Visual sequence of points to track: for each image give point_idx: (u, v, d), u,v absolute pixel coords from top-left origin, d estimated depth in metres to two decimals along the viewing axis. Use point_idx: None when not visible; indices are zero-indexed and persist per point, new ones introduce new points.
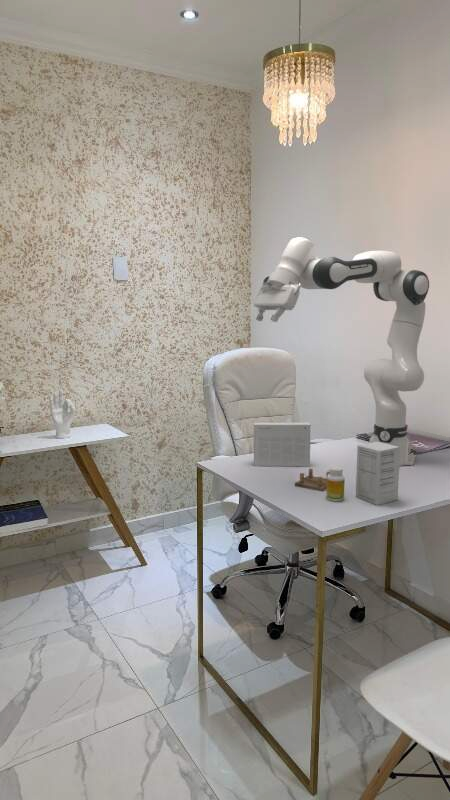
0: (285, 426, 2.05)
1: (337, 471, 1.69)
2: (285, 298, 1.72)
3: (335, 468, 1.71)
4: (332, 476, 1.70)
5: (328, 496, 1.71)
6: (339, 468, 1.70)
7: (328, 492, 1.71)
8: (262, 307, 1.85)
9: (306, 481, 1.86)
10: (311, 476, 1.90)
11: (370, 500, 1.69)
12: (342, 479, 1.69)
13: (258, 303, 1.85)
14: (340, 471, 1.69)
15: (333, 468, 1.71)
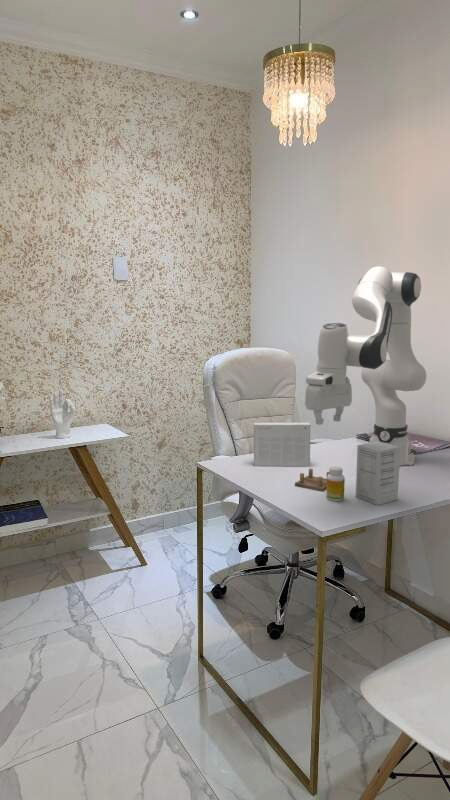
0: (285, 426, 2.05)
1: (337, 471, 1.69)
2: (350, 398, 1.73)
3: (335, 468, 1.71)
4: (332, 476, 1.70)
5: (328, 496, 1.71)
6: (339, 468, 1.70)
7: (328, 492, 1.71)
8: None
9: (306, 481, 1.86)
10: (311, 476, 1.90)
11: (370, 500, 1.69)
12: (342, 479, 1.69)
13: (322, 407, 1.62)
14: (340, 471, 1.69)
15: (333, 468, 1.71)
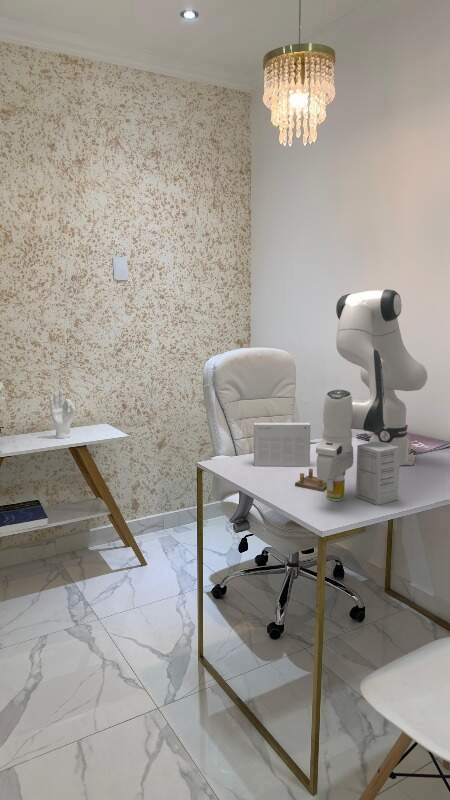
0: (285, 426, 2.05)
1: None
2: (352, 459, 1.77)
3: None
4: None
5: (328, 496, 1.71)
6: None
7: (328, 492, 1.71)
8: None
9: (306, 481, 1.86)
10: (311, 476, 1.90)
11: (370, 500, 1.69)
12: (342, 479, 1.69)
13: (333, 476, 1.65)
14: None
15: None
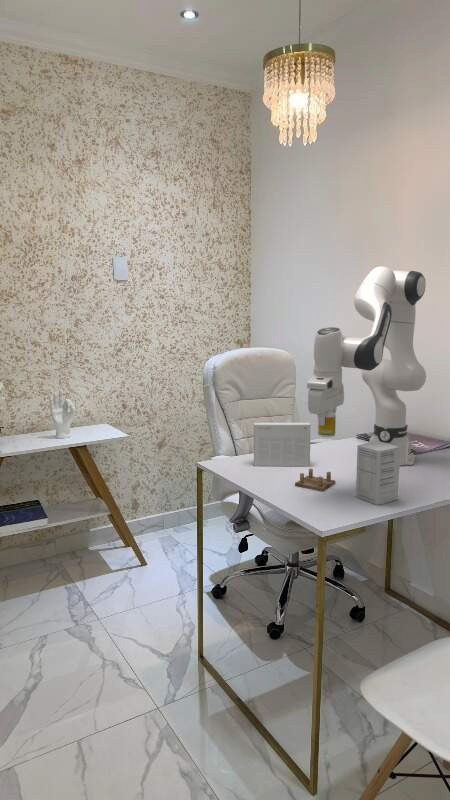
0: (285, 426, 2.05)
1: None
2: (343, 397, 1.82)
3: None
4: None
5: (320, 433, 1.76)
6: None
7: (320, 429, 1.76)
8: None
9: (306, 481, 1.86)
10: (311, 476, 1.90)
11: (370, 500, 1.69)
12: (333, 415, 1.74)
13: (324, 410, 1.69)
14: (331, 408, 1.74)
15: None
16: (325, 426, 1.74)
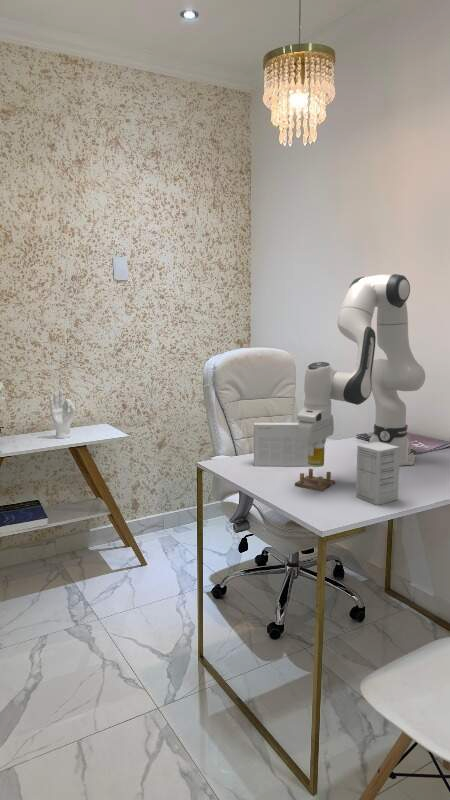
0: (285, 426, 2.05)
1: None
2: (332, 428, 1.89)
3: None
4: None
5: (309, 462, 1.83)
6: None
7: (309, 459, 1.83)
8: None
9: (306, 481, 1.86)
10: (311, 476, 1.90)
11: (370, 500, 1.69)
12: (322, 446, 1.82)
13: (313, 442, 1.77)
14: (320, 439, 1.82)
15: None
16: (314, 456, 1.82)
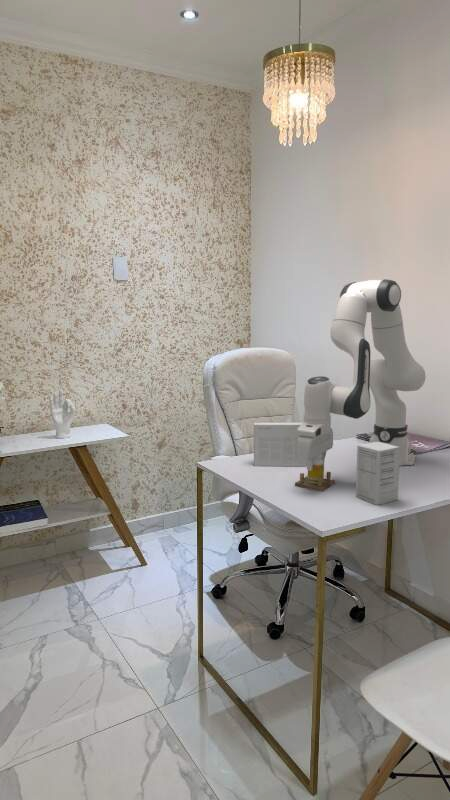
0: (285, 426, 2.05)
1: (317, 456, 1.82)
2: (332, 441, 1.90)
3: None
4: None
5: (309, 479, 1.84)
6: None
7: (309, 475, 1.84)
8: None
9: (306, 481, 1.86)
10: None
11: (370, 500, 1.69)
12: (321, 463, 1.83)
13: (312, 456, 1.78)
14: (320, 456, 1.83)
15: None
16: (314, 473, 1.83)
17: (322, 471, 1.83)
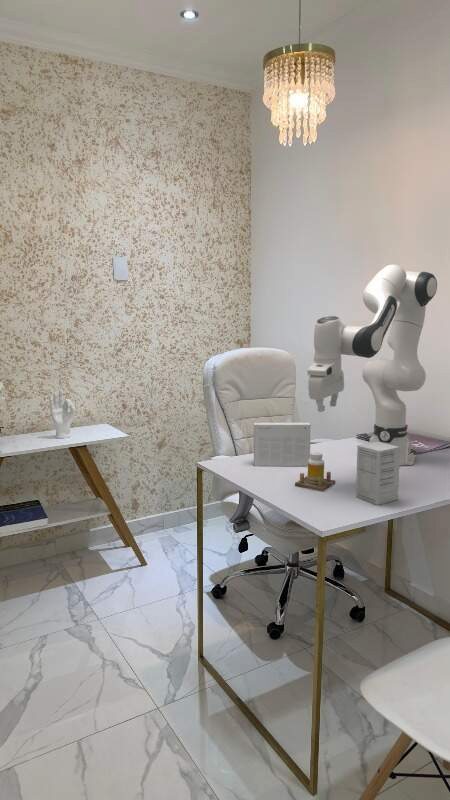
0: (285, 426, 2.05)
1: (317, 456, 1.82)
2: (343, 383, 1.88)
3: (315, 453, 1.84)
4: (312, 460, 1.83)
5: (309, 479, 1.84)
6: (319, 453, 1.84)
7: (309, 475, 1.84)
8: None
9: (306, 481, 1.86)
10: None
11: (370, 500, 1.69)
12: (322, 463, 1.83)
13: (324, 396, 1.76)
14: (320, 456, 1.83)
15: (313, 453, 1.84)
16: (314, 473, 1.83)
17: (322, 471, 1.83)
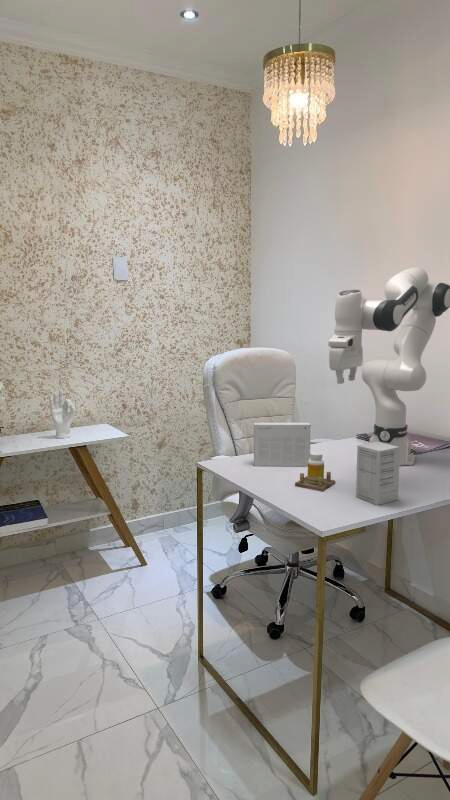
0: (285, 426, 2.05)
1: (317, 456, 1.82)
2: (361, 358, 1.89)
3: (315, 453, 1.84)
4: (312, 460, 1.83)
5: (309, 479, 1.84)
6: (319, 453, 1.84)
7: (309, 475, 1.84)
8: None
9: (306, 481, 1.86)
10: None
11: (370, 500, 1.69)
12: (321, 463, 1.83)
13: (344, 368, 1.77)
14: (320, 456, 1.83)
15: (313, 453, 1.84)
16: (314, 473, 1.83)
17: (322, 471, 1.83)
